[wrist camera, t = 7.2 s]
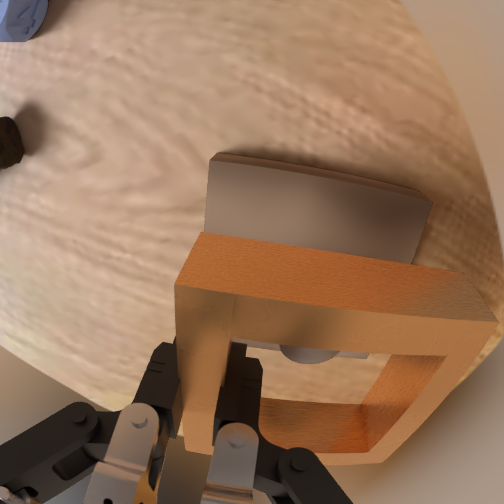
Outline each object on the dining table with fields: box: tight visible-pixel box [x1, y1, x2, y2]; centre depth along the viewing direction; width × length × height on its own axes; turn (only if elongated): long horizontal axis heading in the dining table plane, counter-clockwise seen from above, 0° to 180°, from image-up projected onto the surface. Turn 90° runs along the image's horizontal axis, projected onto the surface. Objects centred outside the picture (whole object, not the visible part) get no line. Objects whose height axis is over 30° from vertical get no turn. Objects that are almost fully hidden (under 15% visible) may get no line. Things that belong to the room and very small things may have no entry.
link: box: [174, 232, 499, 465], centre depth 11 cm, size 10×10×3 cm
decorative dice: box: [0, 0, 48, 42], centre depth 10 cm, size 4×4×4 cm
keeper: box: [204, 153, 433, 364], centre depth 16 cm, size 12×12×7 cm
